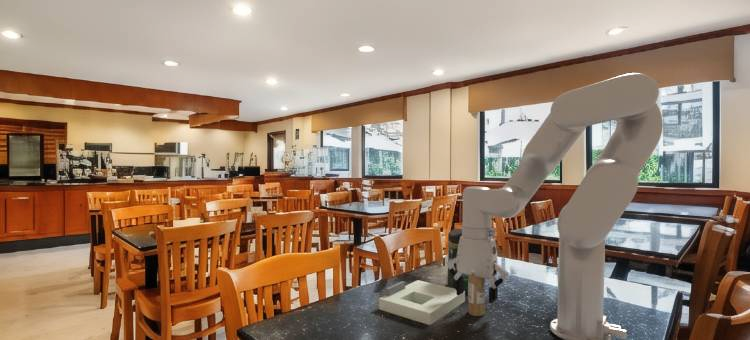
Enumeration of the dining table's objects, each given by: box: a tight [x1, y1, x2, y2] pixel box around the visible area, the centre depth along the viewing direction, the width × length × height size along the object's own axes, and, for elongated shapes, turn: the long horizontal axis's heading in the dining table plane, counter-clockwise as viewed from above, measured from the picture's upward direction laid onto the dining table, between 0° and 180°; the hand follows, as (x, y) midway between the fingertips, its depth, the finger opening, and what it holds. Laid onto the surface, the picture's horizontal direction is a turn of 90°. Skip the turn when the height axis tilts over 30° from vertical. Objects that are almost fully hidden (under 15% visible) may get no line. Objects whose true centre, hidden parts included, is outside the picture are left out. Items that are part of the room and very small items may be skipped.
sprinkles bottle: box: [467, 270, 486, 317], centre depth 101 cm, size 5×5×13 cm
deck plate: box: [378, 279, 466, 326], centre depth 107 cm, size 16×20×5 cm
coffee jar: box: [447, 228, 468, 293], centre depth 121 cm, size 10×8×19 cm
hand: (475, 297), depth 101 cm, fingers open, 8 cm apart
